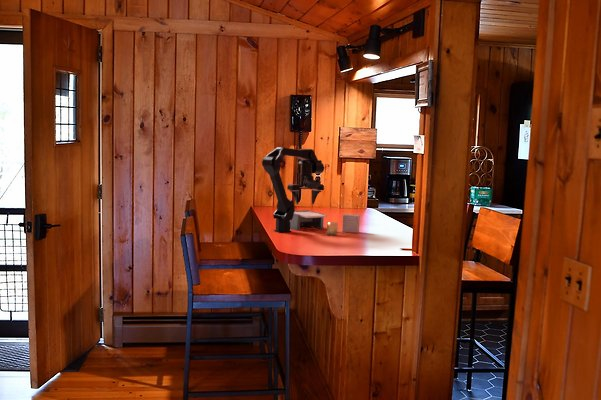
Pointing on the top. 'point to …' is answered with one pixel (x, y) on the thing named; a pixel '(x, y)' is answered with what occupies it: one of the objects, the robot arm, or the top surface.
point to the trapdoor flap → (308, 216)
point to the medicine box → (350, 223)
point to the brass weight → (332, 228)
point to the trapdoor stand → (314, 223)
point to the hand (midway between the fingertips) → (305, 204)
